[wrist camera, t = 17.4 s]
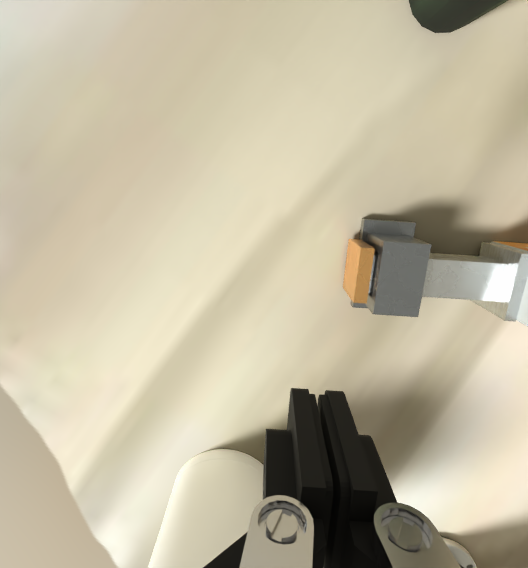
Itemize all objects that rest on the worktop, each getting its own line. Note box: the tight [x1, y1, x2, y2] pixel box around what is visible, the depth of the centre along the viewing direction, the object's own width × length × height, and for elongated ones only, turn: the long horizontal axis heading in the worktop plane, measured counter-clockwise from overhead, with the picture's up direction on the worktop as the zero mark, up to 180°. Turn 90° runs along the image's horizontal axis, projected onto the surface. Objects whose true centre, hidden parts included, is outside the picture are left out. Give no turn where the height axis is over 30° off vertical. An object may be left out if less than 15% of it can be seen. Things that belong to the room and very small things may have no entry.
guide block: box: [351, 218, 432, 317], centre depth 35 cm, size 9×5×6 cm, turn 176°
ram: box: [343, 239, 528, 321], centre depth 35 cm, size 6×14×6 cm, turn 86°
